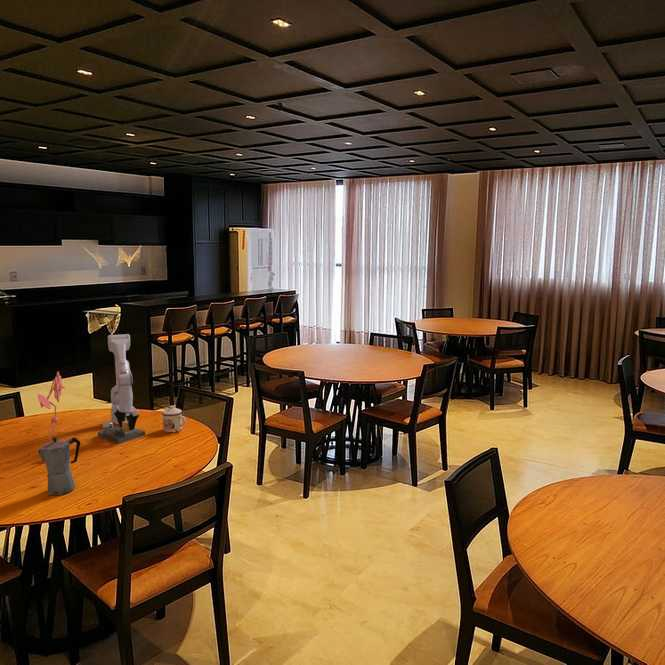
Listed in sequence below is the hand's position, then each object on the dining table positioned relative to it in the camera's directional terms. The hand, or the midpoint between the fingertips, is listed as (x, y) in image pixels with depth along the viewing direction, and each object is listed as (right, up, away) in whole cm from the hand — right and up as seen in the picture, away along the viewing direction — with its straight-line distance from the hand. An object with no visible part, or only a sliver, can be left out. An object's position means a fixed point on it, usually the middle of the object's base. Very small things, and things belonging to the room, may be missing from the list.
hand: (127, 428), depth 266 cm
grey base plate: (-3, -4, +2) cm, 5 cm away
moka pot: (-3, -13, -56) cm, 58 cm away
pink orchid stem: (-19, -7, -21) cm, 29 cm away
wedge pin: (0, -4, +1) cm, 4 cm away
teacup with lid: (+19, -3, +10) cm, 22 cm away
